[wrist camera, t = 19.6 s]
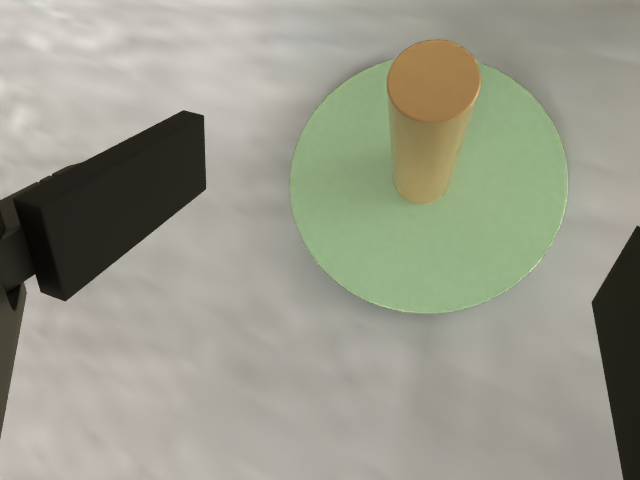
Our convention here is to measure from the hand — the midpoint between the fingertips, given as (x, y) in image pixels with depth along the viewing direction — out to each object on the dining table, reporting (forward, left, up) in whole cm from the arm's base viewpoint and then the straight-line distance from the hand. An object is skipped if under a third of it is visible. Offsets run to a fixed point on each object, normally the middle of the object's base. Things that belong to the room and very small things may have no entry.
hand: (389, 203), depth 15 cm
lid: (+4, -2, -10) cm, 11 cm away
